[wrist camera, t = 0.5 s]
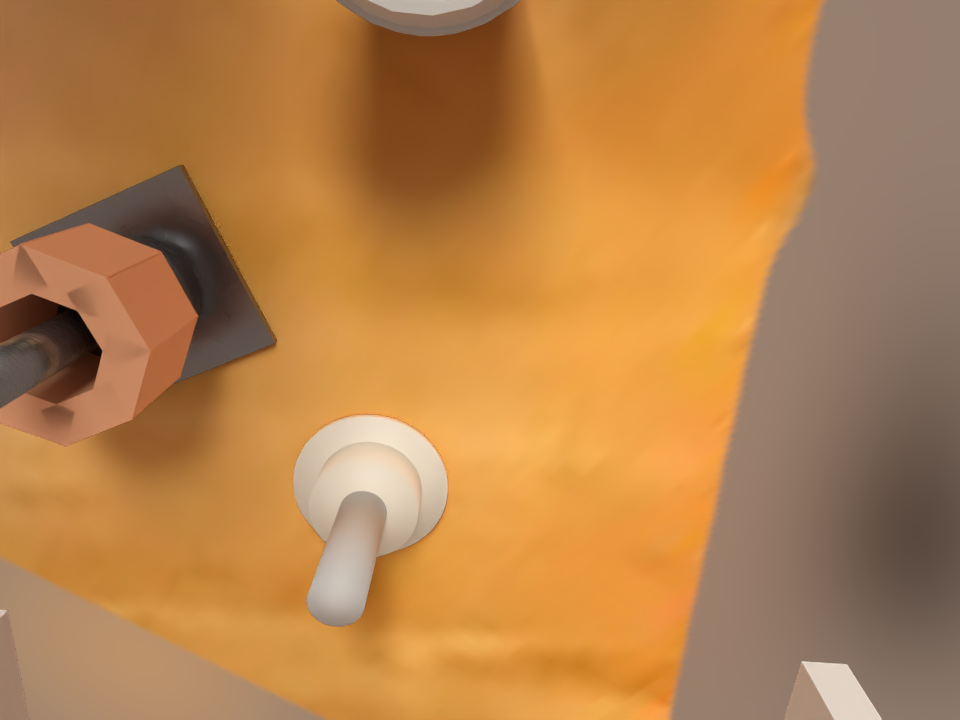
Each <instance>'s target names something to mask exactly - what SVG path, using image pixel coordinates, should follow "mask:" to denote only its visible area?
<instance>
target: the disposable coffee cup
mask: <svg viewBox="0 0 960 720" xmlns="http://www.w3.org/2000/svg"><path fill="white" fill-rule="evenodd" d="M336 1H337V2H339V3H340V4H342V5H343V6H345V7H346V8H348V9H349V10H351V11H352V12H354V13H355V14H357V15H359V16H360V17H362V18H363V19H365V20H366V21H368V22H370V23H372V24H375V25H378V26H381V27H384V28H386V29H389V30H392V31H395V32H398V33H404V34H410V35H415V36H442V35H449V34H456V33H460V32H463V31H466V30H469V29H472V28H475V27H477V26H480V25H483V24H486V23H488V22H489V21H491V20H492V19H494V18H496V17H497V16H499V15H500V14H502V13H503V12H505V11H507V10H508V9H510V8H511V7H513V6H514V5H516V4H517V3H518V2H519V1H520V0H336Z"/></svg>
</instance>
